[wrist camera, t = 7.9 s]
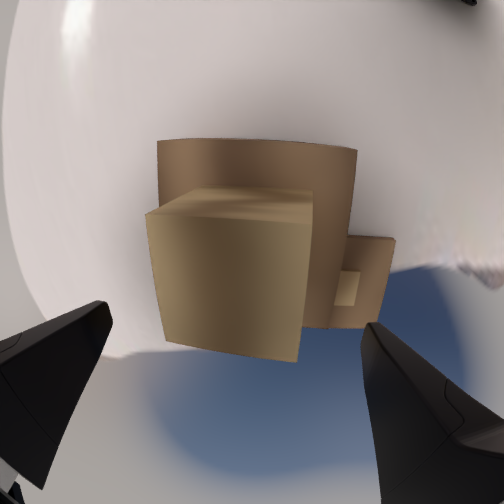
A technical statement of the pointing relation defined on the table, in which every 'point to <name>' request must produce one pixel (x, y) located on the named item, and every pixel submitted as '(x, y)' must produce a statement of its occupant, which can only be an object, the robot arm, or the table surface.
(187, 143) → the tan flat square block
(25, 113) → the table surface
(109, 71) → the table surface
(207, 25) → the table surface
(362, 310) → the swatch
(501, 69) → the table surface
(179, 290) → the oak cube
